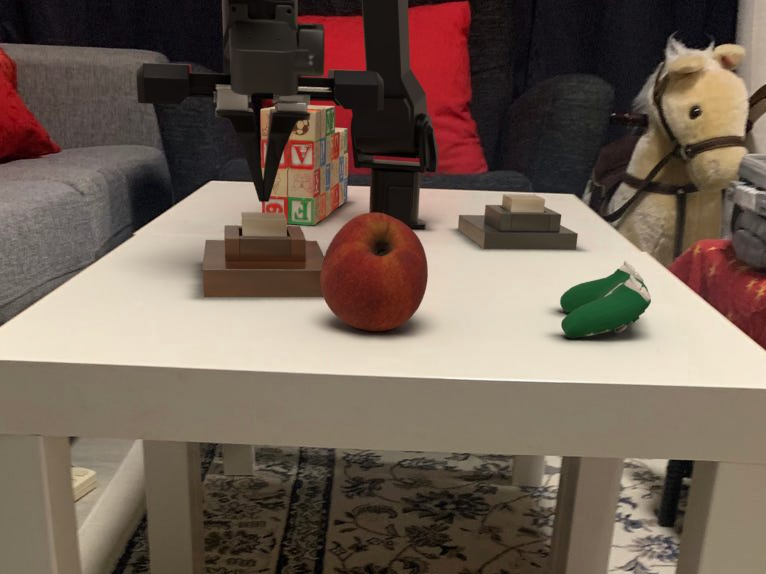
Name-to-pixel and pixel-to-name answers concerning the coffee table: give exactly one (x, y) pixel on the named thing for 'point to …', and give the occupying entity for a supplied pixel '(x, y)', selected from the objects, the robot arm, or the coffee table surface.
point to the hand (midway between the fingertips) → (263, 201)
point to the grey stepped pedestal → (517, 230)
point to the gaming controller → (605, 303)
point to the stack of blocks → (309, 168)
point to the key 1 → (263, 224)
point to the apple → (374, 272)
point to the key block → (262, 265)
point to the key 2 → (523, 203)
